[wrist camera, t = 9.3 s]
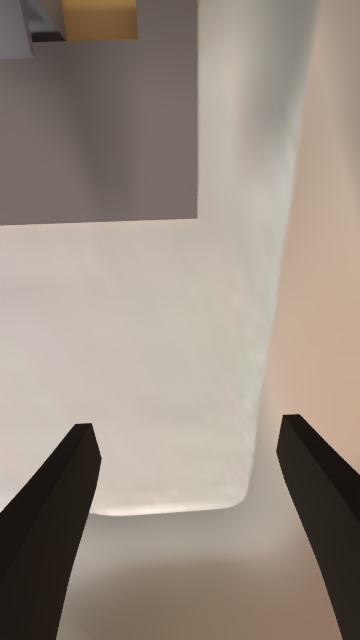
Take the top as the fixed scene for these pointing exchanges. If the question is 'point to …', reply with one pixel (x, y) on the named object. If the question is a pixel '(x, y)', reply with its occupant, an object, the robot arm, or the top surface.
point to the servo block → (29, 26)
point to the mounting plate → (103, 117)
